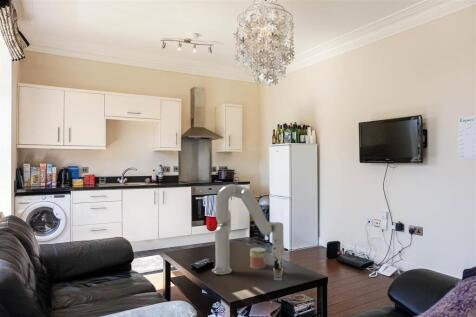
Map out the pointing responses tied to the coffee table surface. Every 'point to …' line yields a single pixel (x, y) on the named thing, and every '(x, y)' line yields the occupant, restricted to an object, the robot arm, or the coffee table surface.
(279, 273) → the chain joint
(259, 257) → the canned food
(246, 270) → the coffee table surface
